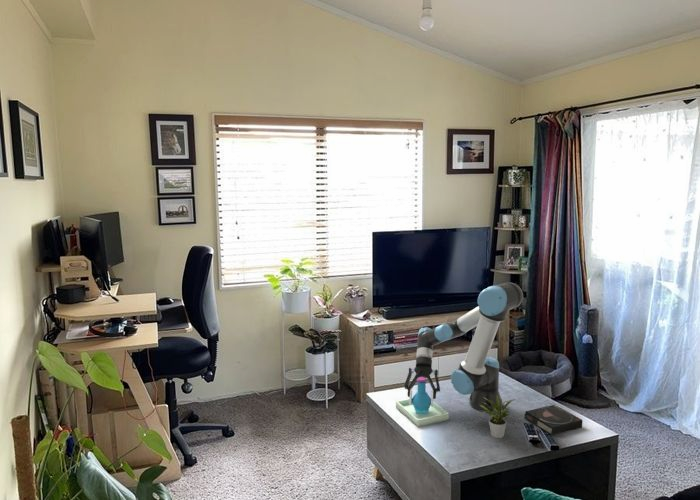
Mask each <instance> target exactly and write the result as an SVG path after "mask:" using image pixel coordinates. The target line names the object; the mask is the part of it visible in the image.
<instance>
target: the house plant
mask: <svg viewBox="0 0 700 500" xmlns="http://www.w3.org/2000/svg"><path fill="white" fill-rule="evenodd" d="M483 398H484V397H483ZM485 399H487V398H485ZM487 400H488V402H489V403H490V404H492V405H491V406H493V407H492V408H493V410H494V411H493V410H492V411H490V410H488V409H487V408H485V407H484V406H481V405H480V406H481V407H482V408H483V409H484V410H485V411H483V412H481V413H482V414H488V415H490V418H489V419H488V424H489V429H490V431H489V432H490V435H491V436H492V437H493V438H496V439H501V438H503V437H504V436H505V430H506V428H507V427H506V426H507V420H506V419H504V418H508V419H510V418H511V417H510V414H511V412H510V411H509V410H507V408H508V406H509V405H510V404H511V403H512V401H515V400H516V398H515V399H510V400H505V401H503V399H502V398H501V402H500V404H499V397H498V395H497V400H496V405H497V406H496V405H495V404H494V405H495V406H494V405H493V403H494V402H493V401H492V402H493V403H492V402H491V401H490V400H489V399H487ZM484 404H486V403H484ZM504 404H505V405H504ZM486 405H487V404H486ZM503 405H504V406H503ZM495 407H496V408H495ZM509 413H510V414H509Z"/></svg>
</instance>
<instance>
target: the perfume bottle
mask: <svg viewBox="0 0 700 500" xmlns="http://www.w3.org/2000/svg"><path fill="white" fill-rule="evenodd" d="M427 381H428V379H427V378H424V377H419V378H417V381H416V383H417V392H415V394H414V395H412V404H413V406H414V408H415V411H416V412H419V413H425V412H428V411H429V408H430V405H431V397H430V395H429V394H428V393H427V391H426V390H427V389H426V383H427Z"/></svg>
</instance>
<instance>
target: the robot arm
mask: <svg viewBox="0 0 700 500" xmlns="http://www.w3.org/2000/svg"><path fill="white" fill-rule="evenodd" d="M523 300H524V293H523V289H521V287H520V286H519V285H518V284H516V283H513V282H509V281H508V282H503V283H499V284H497V285H491V286H488V287H487V288H484V289H483V290H482V291H480V293H479V295H478V297H477V305H478V306H476V307H475V308H473V309H471V310H470V311H468V312H466V313H465V314H463V315H461V316H460V317H458V318H457V319H454V320H453V321H451V322H447V323H444V324H443V323H442V324H440V325H438V326H436V327H434V328H430V327H422V328H420V329H419V330H418V332H417V333H418V334H417V345H416V346H417V347H416V356H415V357H416V360H415V367H414V368H412V367H408V373H407V377H406V379H405V383H404V385H403V386H404V387H403V388H404V389H405V390H407V393H406V394H407V398H408V399H409V404H410V405H411V403H412V398H413V388H414V386H415V385H416V383H417V378H419V377H424V378H425V379H426V380H427V381H428V383H429V385H430V387H431V389H432V390H431V397H430V398H431V407H433V402H434V400H436V398H437V393H438V392H441V386H440V383H439V382H440V381H439V377H438V375H439V371H438V369H432V367H433V366H432V365H433V349H434V347H435V346H437V345H439V344H441V343H444V342H446V341H449V340H452V339H455V338H457V337H461V336H464V335H466V334H467V332H469V331H470V330H472V329H474V328H476V329H475V331H474V334H473V337H472V339H471V342H470V345H469V348H468V350H467V353H466V356H465V357H464V358H462V359H461V360H460V362H459V366H458V368H457V369H455V370H454V371H452V373H451V375H450V381H451V382H450V383H451V384H452V387H453V388H454V389H455V391H456V392H457V393H459V394H460V395H463V396H464V395H465V396H466V395H467V396H468V395H469V399H468V401H469V402H468V404H469V405H470V407H471V408H473V409H475V410H477V411H485V410H484V409H483V408H482V407H481V406H484V407H485V408H487V409H488V410H490V411H491V412H494V410H493V408H492V407H493V406H491V405H492V404H490V403H489V402H488V400H487V399H489V400H490V401H491V402H492V401H493V402H494V403H493V402H492V403H493V405H494V404H495V405H496V400H497V395H498V397H499V404H500V402H501V399H502V397H501V393H500V391H499V386H500V385H499V384H500V381H499V377H500V363H499V362H500V361H498V359H496V358H494V357H491V356H489V354H490V351H491V348H492V346H493V343H494V340H495V338H496V335H497V332H498V330H499V327H500V324H501V323H503V322H505V320H506V319H507V316H508V313H509V311H511V310H514V309H515V308H516V309H517V308H518V307H519V306H521V304H522V302H523ZM414 372H415V375H414V377H413V378H412V374H414ZM432 374H433V376H434V380H435V384H434V382H433V380H432V378H431V375H432ZM411 378H412V381H411ZM435 385H436V386H435ZM483 397H484V398H483ZM485 398H487V399H485ZM484 403H486V404H487V405H486V404H484ZM480 405H481V406H480ZM495 405H494V406H495ZM496 406H497V405H496ZM495 408H496V407H495ZM492 410H493V411H492Z"/></svg>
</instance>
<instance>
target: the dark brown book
mask: <svg viewBox="0 0 700 500" xmlns="http://www.w3.org/2000/svg"><path fill="white" fill-rule="evenodd" d="M524 419H525V420H526V421H527V422H529V423H531V424H533V425H534V426H535V427H537V428H539V429H541V428H542V429H544V430H545V431H547V432H548V433H547V432H546V433H547V434H549V433H550V434H551V435H550V434H549V435H550V436H555V435H558V434H563V433H566V432H570V431H575V430H578V429H583V419H582V418H580V417H578V416H576V415H574V414H572V413H570V412H569V411H567V410H565V409H563V408H562V407H559V406H558V405H556V404H551V405H546V406H543V407H538V408H534V409H529V410H525V414H524ZM542 429H541V430H542ZM544 430H543V431H544ZM545 431H544V432H545Z"/></svg>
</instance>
